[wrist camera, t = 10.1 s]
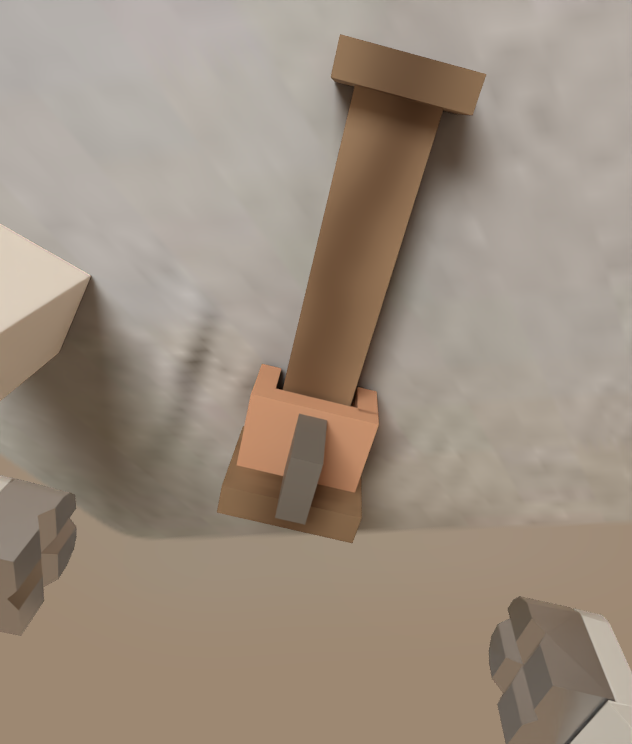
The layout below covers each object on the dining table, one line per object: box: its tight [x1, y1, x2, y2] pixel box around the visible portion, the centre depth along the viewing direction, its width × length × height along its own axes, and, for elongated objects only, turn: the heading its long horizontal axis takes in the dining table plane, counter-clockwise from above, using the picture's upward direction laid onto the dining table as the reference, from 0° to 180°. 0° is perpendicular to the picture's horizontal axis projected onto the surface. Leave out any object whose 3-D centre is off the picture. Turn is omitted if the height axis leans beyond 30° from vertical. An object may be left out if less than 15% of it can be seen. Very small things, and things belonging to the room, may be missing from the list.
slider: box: [237, 364, 379, 525], centre depth 29 cm, size 7×5×8 cm
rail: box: [217, 34, 486, 543], centre depth 27 cm, size 8×24×6 cm, turn 167°
